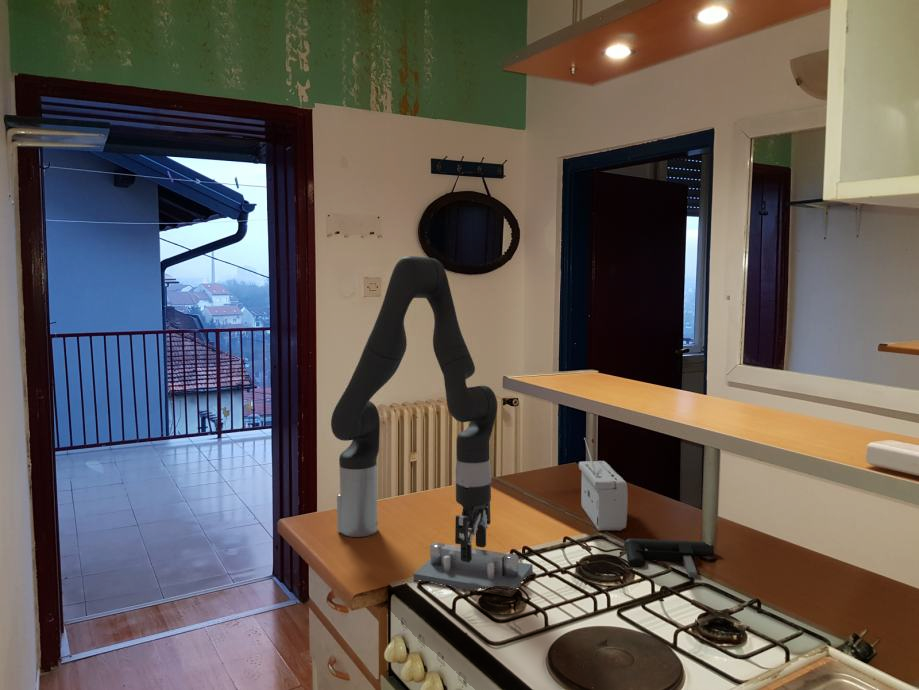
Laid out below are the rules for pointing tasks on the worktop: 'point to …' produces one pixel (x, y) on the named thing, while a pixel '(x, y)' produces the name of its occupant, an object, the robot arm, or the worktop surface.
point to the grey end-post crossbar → (475, 560)
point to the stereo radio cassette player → (603, 495)
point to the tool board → (469, 576)
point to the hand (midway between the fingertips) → (473, 553)
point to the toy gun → (666, 552)
